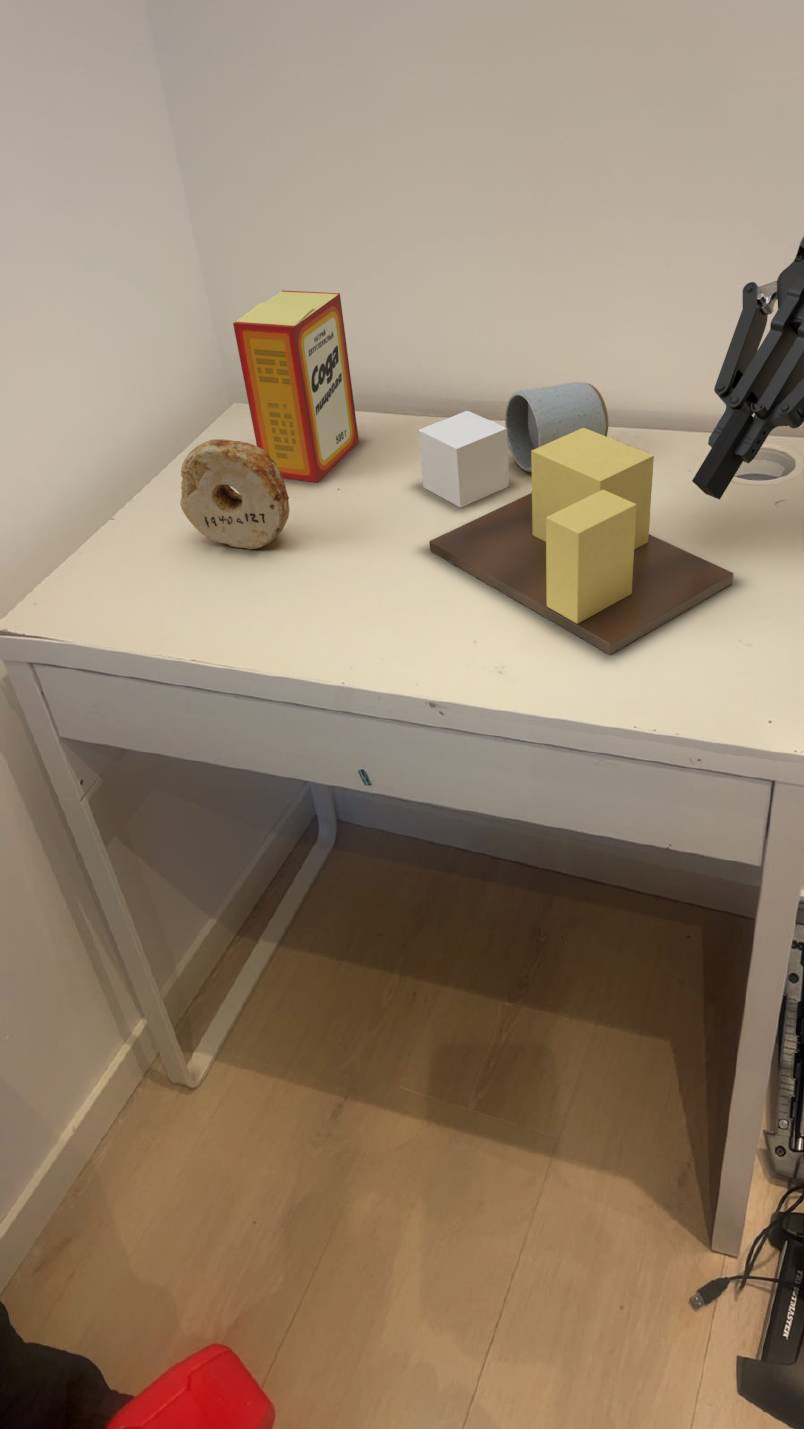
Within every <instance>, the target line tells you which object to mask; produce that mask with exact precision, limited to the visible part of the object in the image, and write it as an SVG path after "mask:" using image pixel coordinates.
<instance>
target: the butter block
mask: <svg viewBox="0 0 804 1429" xmlns="http://www.w3.org/2000/svg"><path fill="white" fill-rule="evenodd" d="M654 459H655V456H654V454H652V453H649V452H647V451H643V450H641V449H638V448H636V447H634V446H631V445H629V444H626V443H624V442H621V441H618V440H616V439H613V438H610V437H608V436H607V437H606V436H603V435H601V434H598V433H596V432H593V431H591V430H588V429H586V428H581V429H579V430H577V431H574V432H572V433H570V434H568V435H565V436H563V437H561V438H559V439H556V440H554V441H552V442H550V443H548V444H545V445H543V446H541V447H539V448H536V449H534V450H532V451H531V465H532V472H531V493H532V528H533V536H535V537H537V538H539V539H541V540H543V541H545V542H546V517H547V516H550V515H552V514H554V513H556V512H558V511H560V510H562V509H564V508H566V507H568V506H570V505H572V504H574V503H576V502H578V501H580V500H582V499H585V498H587V497H589V496H591V495H593V494H595V493H597V492H599V491H601V490H605V491H608V492H610V493H612V494H614V495H617V496H619V497H621V498H624V499H626V500H628V501H630V502H633V503H635V504H636V523H635V542H634V550H635V549H637V548H638V547H640V546H642V545H644V544H646V543H648V538H649V534H650V524H651V523H650V521H651V505H652V491H653V490H652V489H653V475H654V474H653V473H654Z"/></svg>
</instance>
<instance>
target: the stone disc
mask: <svg viewBox="0 0 804 1429" xmlns="http://www.w3.org/2000/svg"><path fill="white" fill-rule="evenodd" d="M180 468H181V469H180V476H181V478H182V479H181V483H180V484H181V487H180V490H181V492H180V493H181V498H180V502H179V504H180V508H181V510H182V512H183V514H184V515H185V517H186V518H187V520H188V521H189V522H190V524H191V525H192V526H193V527H194V528H195V529H196V530H197V531H198V533H200V534H202V535H203V536H204V537H205V538H207V539H209V540H210V541H213V542H215V543H219V544H224V545H227V546H230V547H233V548H237V549H241V548H243V549H247V550H256V549H260V548H262V547H265V546H266V545H269V544H271V542H272V541H274V540H275V539H276V538H277V537H278V536H279V535H280V534H281V532H282V531H283V529H284V527H285V525H286V524H287V522H288V519H289V517H290V511H291V510H290V504H289V503H290V501H289V499H290V496H289V495H288V490H287V488H286V482H285V480H284V478H283V476H282V474H281V471H280V470H278V469H277V466H276V463H275V462H274V461H273V460H272V459H271V458H270V456H269V455H268V453H266V452H265V451H264V450H263V449H261V448H259V447H257V445H255V444H253V443H249V442H243V441H240V440H232V439H221V438H217V439H216V438H215V439H209V440H207V441H204V442H202V443H200V444H199V445H197V446H196V447H195V448H193V449H192V450H191V451H190V452H189V453H188V454H187V455H186V457H185V458H184V460H183V462H182V465H181V467H180ZM236 491H237V492H236Z"/></svg>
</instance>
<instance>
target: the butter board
mask: <svg viewBox="0 0 804 1429" xmlns="http://www.w3.org/2000/svg"><path fill="white" fill-rule="evenodd" d="M429 551H430V552H431V553H434V554H435V555H437V556H439V557H441V558H442V559H444V560H445V561H447V562H449V563H451V564H453V565H454V566H456V567H457V568H459V569H461V570H463V571H465V572H466V573H468V574H469V575H471V576H474V577H475V578H477V579H478V580H480V581H482V582H483V583H485V584H486V585H489V586H490V587H492V588H494V589H496V590H497V591H499V592H500V593H503V594H504V595H506V596H508V597H509V598H511V599H513V600H515V601H517V602H518V603H520V604H522V605H523V606H525V607H527V608H529V609H530V610H532V611H534V612H536V613H537V614H539V615H540V616H542V617H544V618H545V619H547V620H549V621H551V622H553V623H555V624H556V625H558V626H560V627H561V628H563V629H565V630H567V631H568V632H570V633H572V634H574V635H575V636H577V637H578V638H580V639H582V640H584V641H585V642H587V643H589V644H591V645H593V646H594V647H596V648H598V649H599V650H601V651H602V652H604V653H606V654H608V655H612V654H614V653H617V651H620V650H621V649H623V648H624V647H627V646H628V645H630V644H631V643H633V642H634V641H636V640H639V639H640V638H642V637H643V636H645V635H647V634H648V633H650V632H652V631H654V630H655V629H657V628H659V627H660V626H662V625H663V624H665V623H667V622H669V621H670V620H672V619H674V618H676V617H677V616H679V615H680V614H682V613H684V612H686V611H688V610H689V609H691V608H693V607H695V606H696V605H699V603H701V602H703V601H704V600H706V599H708V598H710V597H711V596H713V595H715V594H717V593H718V592H720V591H722V590H724V589H725V588H727V587H729V586H730V585H732V584H733V581H734V575H735V574H734V572H732V571H730V570H728V569H726V568H724V567H722V566H719V565H717V564H715V563H713V562H710V561H709V560H707V559H704V558H702V557H700V556H697V555H695V554H693V553H691V552H689V551H687V550H685V549H682V548H680V547H679V546H676V545H674V544H671V543H669V542H667V541H665V540H663V539H661V538H658V537H656V536H654V535H652V534H650V533H649V538H648V543H646V544H644V545H642V546H640V547H638V548H637V549H635V550H634V560H633V578H632V594H631V595H629V596H627V597H625V598H624V599H622V600H620V601H618V602H616V603H614V604H613V605H611V606H609V607H607V608H605V609H604V610H602V611H600V612H598V613H596V614H595V615H593V616H591V617H589V618H587V619H586V620H584V621H582V622H580V623H578V624H576V623H575V622H573V621H571V620H569V619H568V618H566V617H564V616H563V615H561V614H559V613H557V612H556V611H554V610H552V609H550V608H549V607H547V587H546V542H545V541H543V540H541V539H539V538H537V537H535V536H533V528H532V492H530V493H528V494H526V495H524V496H522V497H519V498H518V499H515V500H513V501H511V502H509V503H507V504H504V505H502V506H500V507H498V508H497V509H494V510H492V511H490V512H488V513H486V514H483V515H482V516H479V517H477V518H475V519H472V520H471V521H469V522H466V523H465V524H462V525H461V526H459V527H456V528H454V529H452V530H450V531H448V532H446V533H443V534H442V535H439V536H437V537H435V538H433V539H431V540H429Z"/></svg>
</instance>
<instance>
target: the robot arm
mask: <svg viewBox="0 0 804 1429" xmlns="http://www.w3.org/2000/svg"><path fill="white" fill-rule="evenodd" d="M776 301H777V311H776V312H775V314H774V316H773V318H771V321H770V324H769V325H770V326H769V331H768V332H767V334H766V336H765V337H764V339H763V336H764V333H765V330H766V327H767V323H768V317H769V315H771V314H773V313H774V307H775V304H776ZM762 339H763V341H762ZM713 390H714V393H715V394H716V395H717V396H718V398H719V399H720V400H721V402H723V403H724V405H725V410H724V412H723V414H722V416H721V417H720V418H719V421H718V422H717V424H716V426H715V427H714V429H713V431H712V432H711V434H710V435H709V437H708V441H707V445H709V446H710V447H711V449H710V450H709V452H708V453H707V455H706V456H705V458H704V460H703V462H702V463H701V465H700V466H699V468H698V470H697V472H696V473H695V475H694V477H693V478H692V480H691V482H692V483H694V485H696V487H697V488H698V489H700V490H701V491H702V492H703V494H705V495H707V496H709V497H711V498H714V499H717V500H721V498H722V497H723V495H724V493H725V492H726V491H727V489H728V487H729V485H730V484H731V482H732V481H733V479H734V477H735V475H736V474H737V472H738V471H739V469H740V467H741V466H742V464H743V463H747V464H750V463H751V462H752V461H753V460H754V459H755V458H756V456H757V455H758V453H759V451H760V450H761V448H762V446H763V445H764V443H765V442H766V440H767V439H768V436H769V435H770V433H771V432H772V431H773V430H774V429H776V428H779V427H789V428H791V429H797V428H799V427H800V426H802V425H803V424H804V236H803V237H802V239H801V240H800V243H799V246H798V248H797V251H796V255H795V258H794V260H793V261H792V262H791V263H790V264H789V265H788V266H787V267H785V268H784V269H783V270H782V271H781V272H780V273H779V275H778V277H777V280H774V281H771V282H769V283H766V284H763V285H760V286H758V284H757V282H754V281H750V282H748V283H746V284H744V286H743V288H742V310H741V313H740V315H739V318H738V321H737V324H736V326H735V329H734V331H733V335H732V338H731V340H730V343H729V346H728V348H727V351H726V353H725V356H724V360H723V362H722V365H721V368H720V370H719V374H718V376H717V379H716V381H715V385H714V388H713Z"/></svg>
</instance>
